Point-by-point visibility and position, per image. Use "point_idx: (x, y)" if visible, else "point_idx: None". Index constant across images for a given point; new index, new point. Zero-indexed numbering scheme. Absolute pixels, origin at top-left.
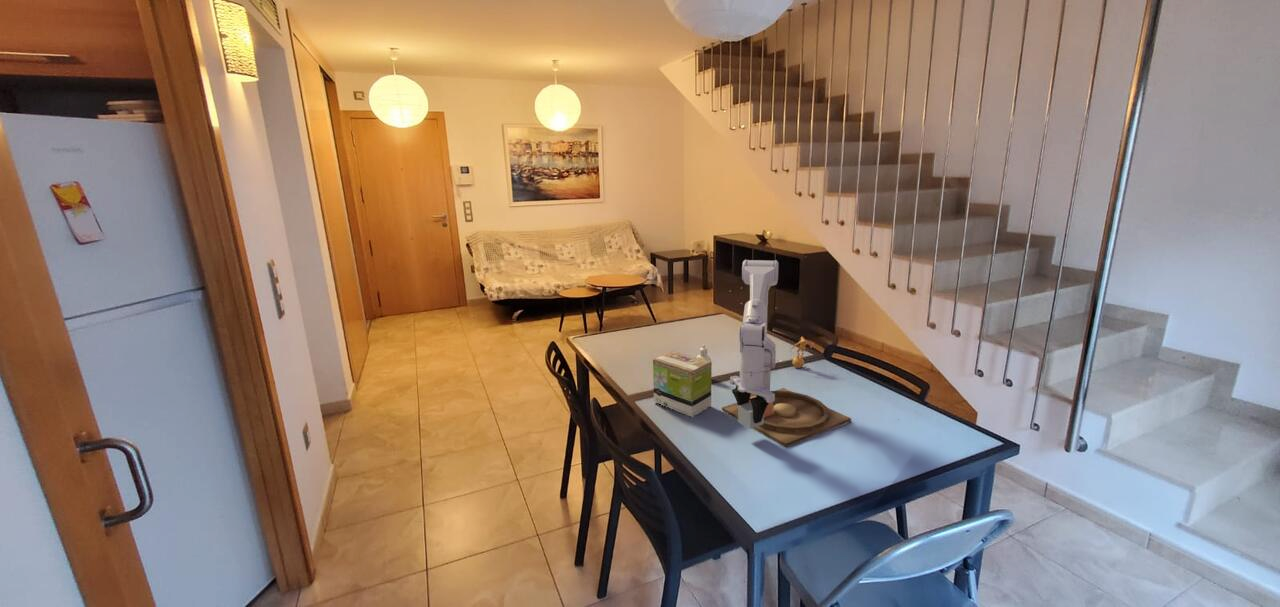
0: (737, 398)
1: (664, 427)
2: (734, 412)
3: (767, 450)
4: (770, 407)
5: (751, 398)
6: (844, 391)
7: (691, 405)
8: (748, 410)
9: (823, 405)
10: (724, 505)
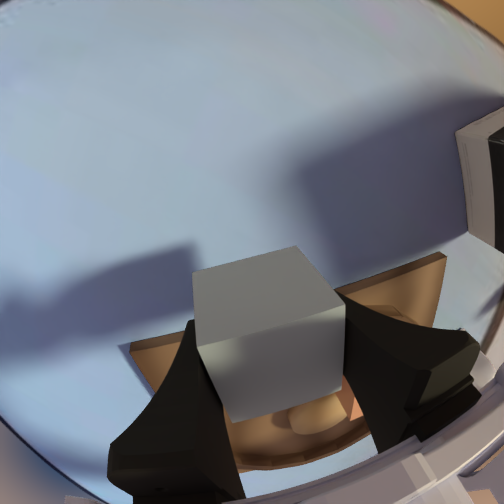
0: (393, 338)
1: (430, 14)
2: (407, 282)
3: (121, 279)
4: (340, 395)
5: (196, 474)
6: (324, 472)
7: (491, 138)
8: (237, 346)
9: (281, 467)
10: None
